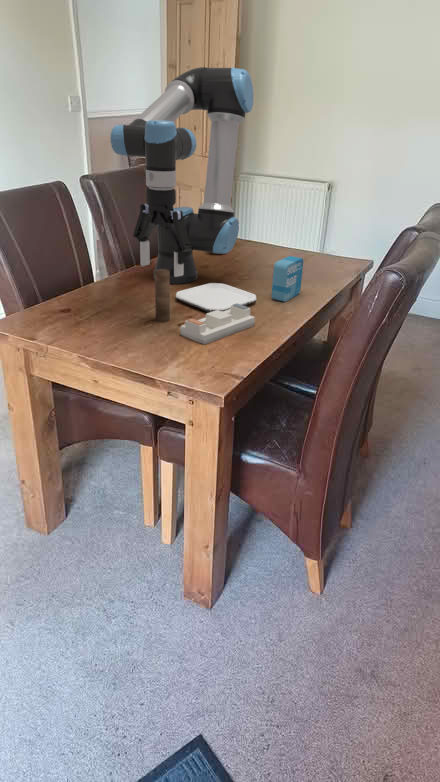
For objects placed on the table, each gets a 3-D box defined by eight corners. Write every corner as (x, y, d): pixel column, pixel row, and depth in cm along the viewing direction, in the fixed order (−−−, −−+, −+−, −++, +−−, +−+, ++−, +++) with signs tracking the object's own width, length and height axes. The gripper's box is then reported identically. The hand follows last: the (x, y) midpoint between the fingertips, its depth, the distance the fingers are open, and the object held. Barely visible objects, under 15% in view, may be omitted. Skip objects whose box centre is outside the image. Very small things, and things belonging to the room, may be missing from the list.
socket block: (180, 334, 151) (180, 317, 149) (230, 316, 164) (231, 301, 162) (204, 344, 145) (204, 327, 143) (254, 325, 159) (255, 309, 156)
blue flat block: (283, 303, 176) (286, 265, 171) (270, 300, 178) (273, 262, 173) (300, 293, 185) (304, 257, 180) (288, 290, 187) (291, 254, 182)
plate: (216, 287, 189) (216, 281, 188) (262, 303, 176) (263, 296, 175) (169, 300, 176) (169, 293, 175) (215, 318, 163) (215, 311, 162)
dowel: (152, 319, 160) (151, 270, 153) (163, 315, 163) (162, 268, 156) (162, 323, 158) (161, 274, 151) (172, 319, 160) (172, 271, 154)
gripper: (118, 182, 148) (121, 263, 158) (184, 195, 134) (183, 283, 143) (140, 180, 153) (142, 258, 163) (206, 193, 139) (204, 277, 148)
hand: (161, 270), depth 153 cm, fingers open, 13 cm apart
